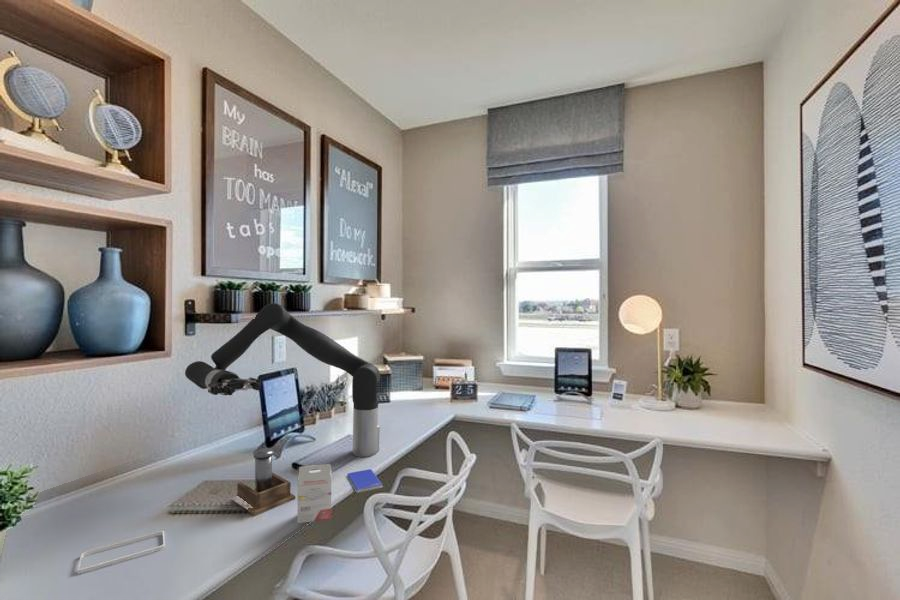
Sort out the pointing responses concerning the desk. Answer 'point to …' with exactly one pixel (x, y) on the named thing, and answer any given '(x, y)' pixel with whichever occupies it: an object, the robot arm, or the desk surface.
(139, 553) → the rectangular frame
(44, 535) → the desk surface
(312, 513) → the ink cartridge box
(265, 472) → the pin
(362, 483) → the hard drive
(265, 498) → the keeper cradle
